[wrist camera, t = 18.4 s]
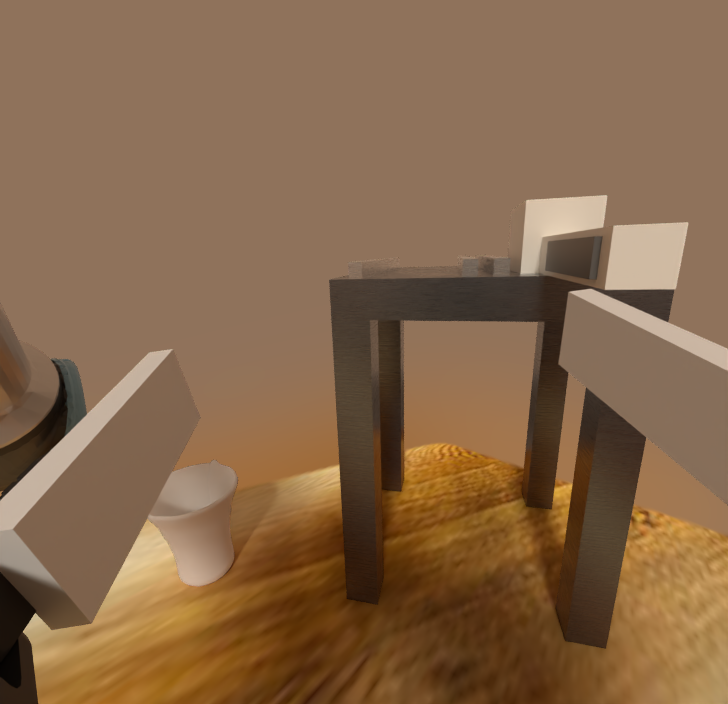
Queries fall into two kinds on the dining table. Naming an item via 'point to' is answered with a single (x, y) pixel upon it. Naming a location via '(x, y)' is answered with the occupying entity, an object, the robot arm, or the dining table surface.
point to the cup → (198, 520)
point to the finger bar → (593, 245)
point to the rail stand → (597, 433)
